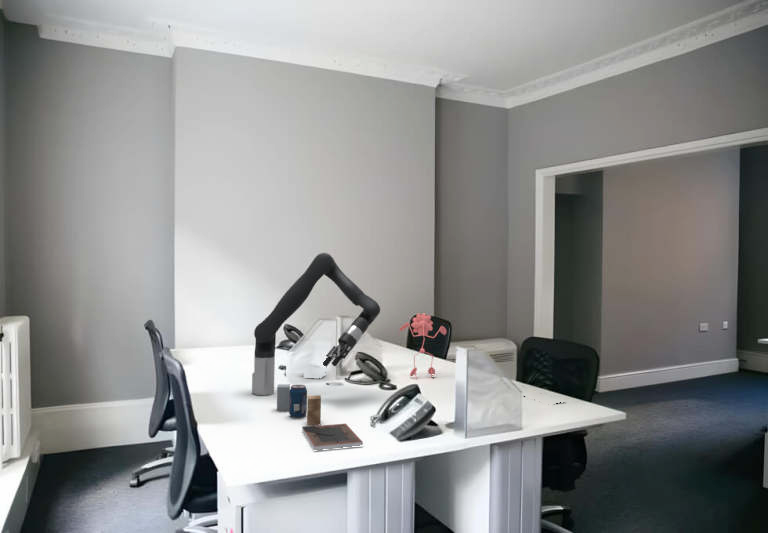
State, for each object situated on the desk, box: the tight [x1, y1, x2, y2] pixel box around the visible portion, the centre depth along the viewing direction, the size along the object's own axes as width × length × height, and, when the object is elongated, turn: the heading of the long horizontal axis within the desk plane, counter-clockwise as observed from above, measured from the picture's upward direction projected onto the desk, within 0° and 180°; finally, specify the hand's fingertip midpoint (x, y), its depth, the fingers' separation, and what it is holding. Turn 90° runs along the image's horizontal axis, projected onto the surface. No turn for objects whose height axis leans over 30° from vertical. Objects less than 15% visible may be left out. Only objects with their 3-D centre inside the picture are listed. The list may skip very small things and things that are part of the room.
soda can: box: [288, 384, 308, 419], centre depth 216 cm, size 7×7×12 cm
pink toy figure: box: [398, 312, 447, 378], centre depth 296 cm, size 15×26×35 cm, turn 102°
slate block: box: [276, 383, 291, 412], centre depth 225 cm, size 5×5×10 cm
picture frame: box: [301, 423, 364, 451], centre depth 190 cm, size 16×2×22 cm
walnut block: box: [306, 394, 322, 426], centre depth 208 cm, size 5×5×10 cm
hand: (328, 365), depth 234 cm, fingers open, 8 cm apart
